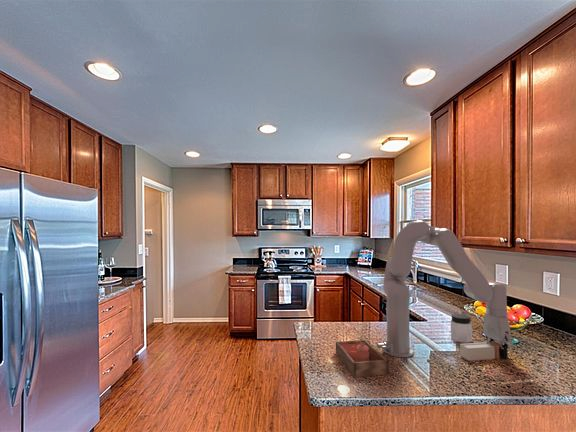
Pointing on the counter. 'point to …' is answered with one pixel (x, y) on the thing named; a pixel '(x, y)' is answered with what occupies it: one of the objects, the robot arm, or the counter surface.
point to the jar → (461, 328)
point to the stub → (496, 348)
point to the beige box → (477, 351)
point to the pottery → (357, 351)
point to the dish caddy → (367, 367)
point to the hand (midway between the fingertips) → (497, 354)
